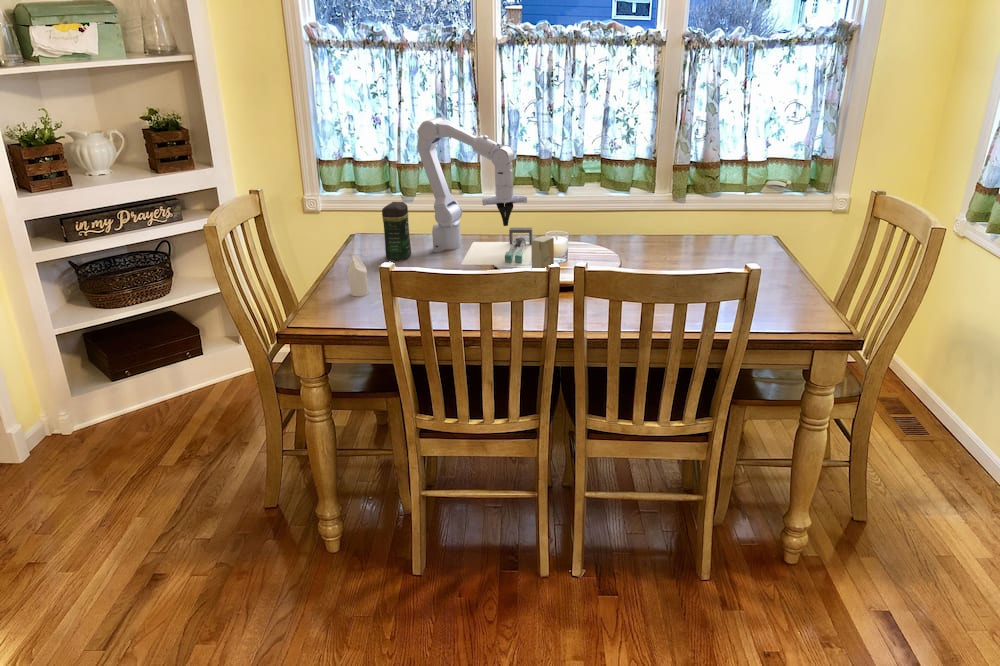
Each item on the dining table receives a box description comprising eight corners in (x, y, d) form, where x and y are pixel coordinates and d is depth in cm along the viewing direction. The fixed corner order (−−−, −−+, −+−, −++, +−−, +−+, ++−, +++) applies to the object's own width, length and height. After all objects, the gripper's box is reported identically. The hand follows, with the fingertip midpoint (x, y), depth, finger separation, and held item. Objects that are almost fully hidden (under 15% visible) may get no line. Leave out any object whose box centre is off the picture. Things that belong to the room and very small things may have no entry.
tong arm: (512, 246, 267) (511, 240, 266) (518, 246, 267) (518, 240, 266) (505, 262, 252) (504, 255, 251) (511, 262, 252) (511, 255, 251)
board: (461, 268, 253) (460, 264, 252) (473, 245, 276) (473, 241, 275) (529, 268, 250) (529, 264, 249) (536, 245, 273) (536, 241, 272)
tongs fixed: (516, 244, 271) (516, 237, 270) (528, 244, 270) (527, 237, 269) (509, 262, 252) (509, 255, 251) (522, 262, 252) (521, 255, 251)
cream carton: (361, 257, 227) (342, 258, 228) (366, 296, 232) (347, 296, 233) (367, 251, 233) (348, 251, 233) (371, 289, 238) (353, 289, 238)
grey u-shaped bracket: (510, 241, 273) (510, 227, 271) (532, 241, 272) (532, 227, 270) (509, 243, 271) (509, 230, 269) (531, 243, 270) (531, 230, 268)
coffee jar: (406, 262, 261) (401, 207, 254) (383, 261, 262) (378, 207, 255) (414, 253, 270) (409, 199, 262) (392, 253, 271) (387, 199, 264)
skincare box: (543, 281, 238) (542, 242, 234) (531, 278, 241) (530, 240, 236) (554, 275, 243) (554, 236, 238) (543, 272, 246) (542, 234, 241)
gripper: (482, 188, 252) (484, 229, 257) (527, 185, 253) (528, 226, 258) (481, 183, 258) (483, 224, 263) (525, 181, 259) (526, 221, 264)
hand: (505, 225), depth 261 cm, fingers closed
